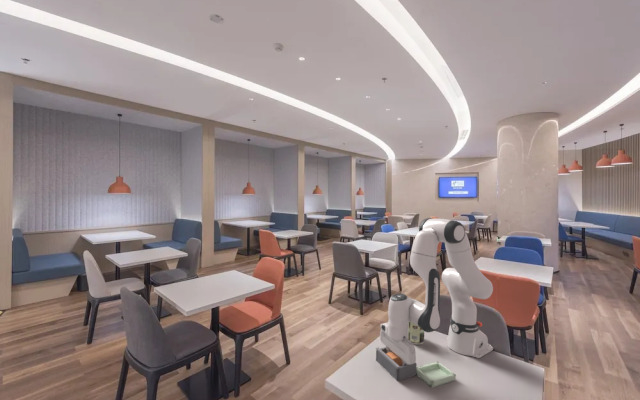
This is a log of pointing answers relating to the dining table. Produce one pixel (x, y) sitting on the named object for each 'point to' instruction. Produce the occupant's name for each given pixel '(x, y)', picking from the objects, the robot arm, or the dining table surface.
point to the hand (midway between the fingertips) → (396, 362)
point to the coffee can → (415, 334)
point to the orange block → (395, 358)
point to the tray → (435, 374)
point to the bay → (394, 365)
